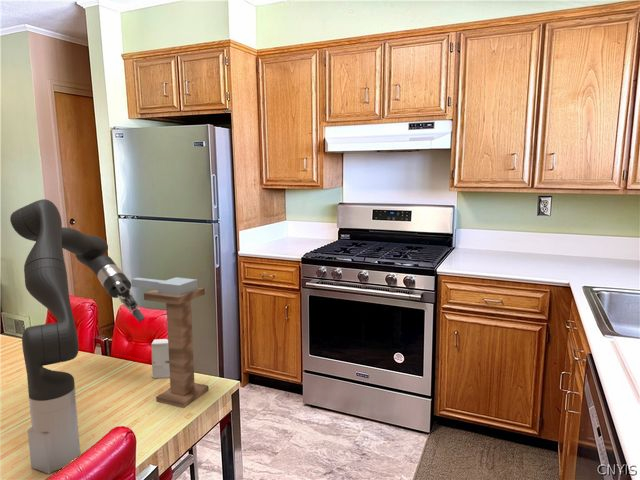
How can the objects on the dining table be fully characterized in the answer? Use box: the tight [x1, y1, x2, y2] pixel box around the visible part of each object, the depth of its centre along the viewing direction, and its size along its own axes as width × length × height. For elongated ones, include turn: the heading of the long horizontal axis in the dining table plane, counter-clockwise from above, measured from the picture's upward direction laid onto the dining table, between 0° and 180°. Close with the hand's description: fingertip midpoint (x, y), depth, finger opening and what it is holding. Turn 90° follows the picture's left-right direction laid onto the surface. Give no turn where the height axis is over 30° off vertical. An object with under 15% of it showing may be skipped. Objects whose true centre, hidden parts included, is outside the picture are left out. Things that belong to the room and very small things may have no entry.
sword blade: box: [130, 276, 199, 296], centre depth 136 cm, size 8×21×3 cm, turn 67°
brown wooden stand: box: [143, 287, 209, 409], centre depth 136 cm, size 12×12×33 cm
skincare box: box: [151, 338, 170, 379], centre depth 152 cm, size 6×4×12 cm
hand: (138, 313), depth 143 cm, fingers open, 8 cm apart
